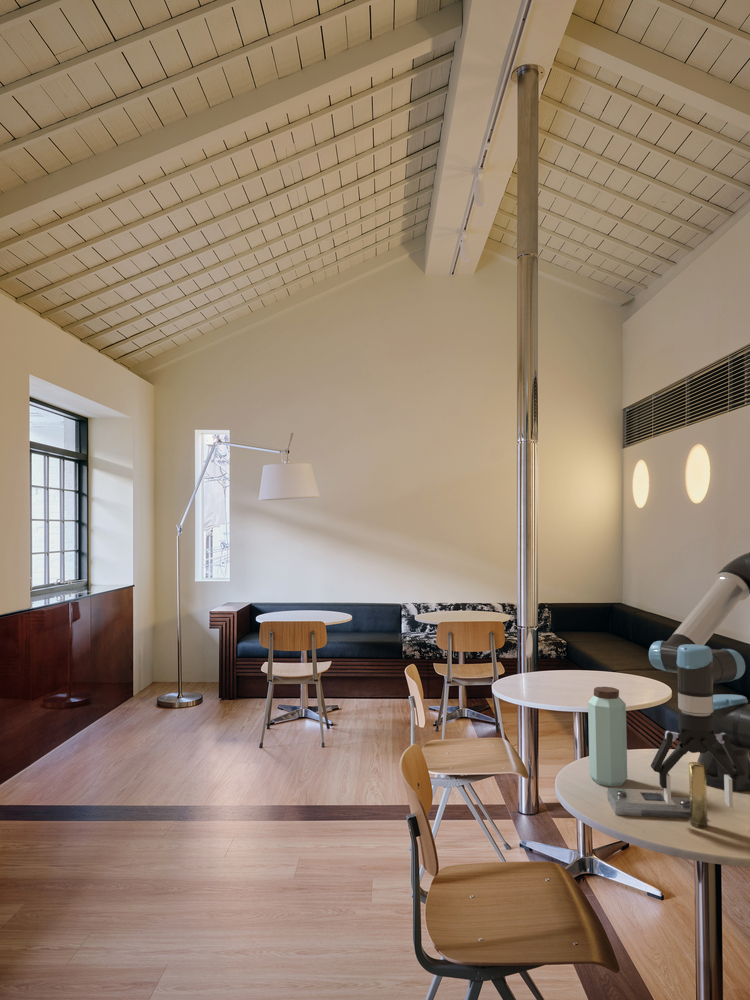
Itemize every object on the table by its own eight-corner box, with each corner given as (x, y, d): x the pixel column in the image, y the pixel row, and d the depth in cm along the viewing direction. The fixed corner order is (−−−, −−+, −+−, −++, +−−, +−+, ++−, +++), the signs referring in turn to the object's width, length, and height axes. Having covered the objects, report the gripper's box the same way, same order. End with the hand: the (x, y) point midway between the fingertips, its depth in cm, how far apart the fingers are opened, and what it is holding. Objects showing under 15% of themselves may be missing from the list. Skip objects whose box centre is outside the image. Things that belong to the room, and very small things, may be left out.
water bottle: (630, 789, 176) (628, 694, 177) (591, 786, 178) (589, 692, 179) (624, 775, 186) (622, 685, 187) (587, 773, 188) (585, 684, 189)
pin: (704, 822, 155) (702, 762, 156) (709, 829, 152) (708, 767, 153) (688, 821, 156) (686, 761, 157) (693, 828, 152) (691, 766, 153)
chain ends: (689, 803, 166) (689, 788, 166) (702, 819, 157) (702, 803, 157) (607, 799, 169) (607, 785, 169) (615, 814, 160) (615, 799, 160)
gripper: (745, 709, 157) (747, 800, 156) (636, 705, 161) (638, 794, 159) (759, 718, 150) (762, 813, 149) (644, 714, 153) (646, 807, 152)
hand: (698, 803), depth 154 cm, fingers open, 13 cm apart
